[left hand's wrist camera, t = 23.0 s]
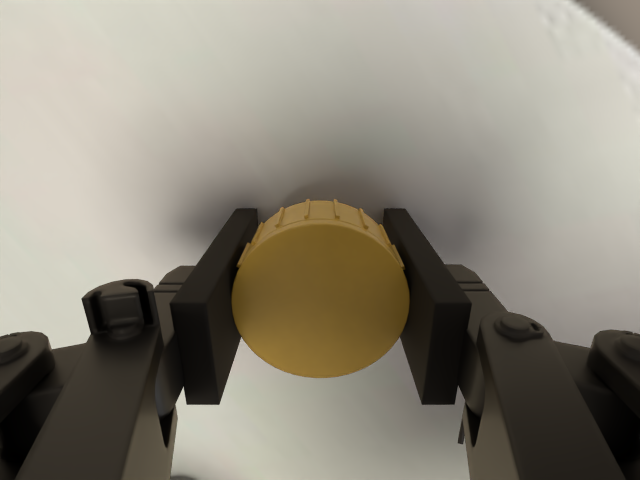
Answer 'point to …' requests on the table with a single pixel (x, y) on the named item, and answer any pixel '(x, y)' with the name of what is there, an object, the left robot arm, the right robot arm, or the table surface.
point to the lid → (320, 290)
